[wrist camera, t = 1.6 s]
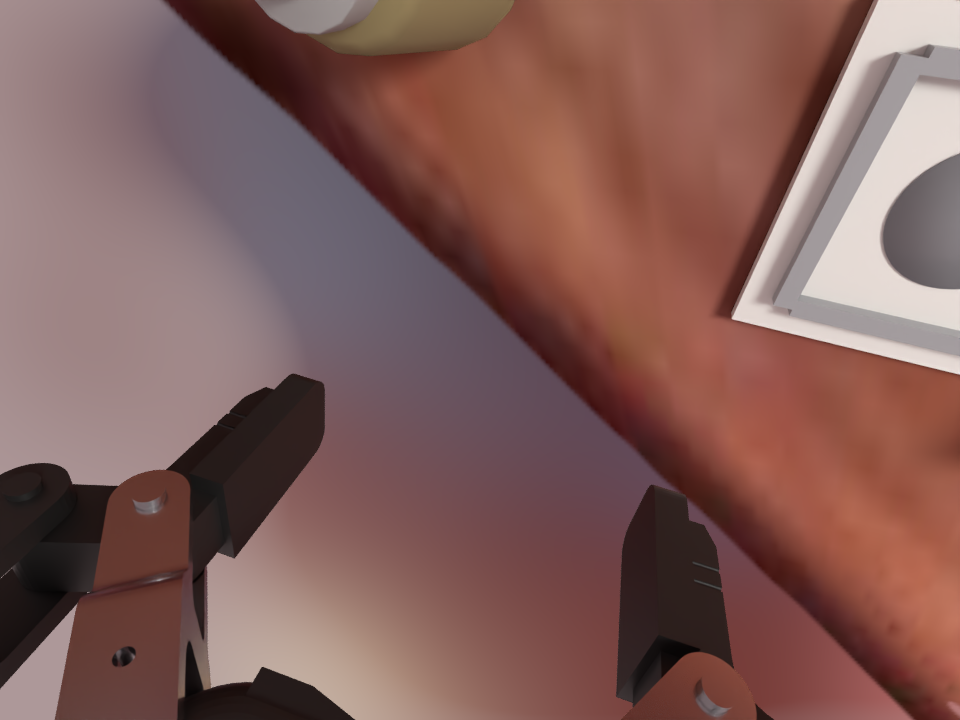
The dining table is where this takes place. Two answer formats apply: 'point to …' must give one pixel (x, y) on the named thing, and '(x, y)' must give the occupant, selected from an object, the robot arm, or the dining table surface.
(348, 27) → the squeeze bottle
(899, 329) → the pad
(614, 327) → the dining table surface
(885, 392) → the dining table surface
